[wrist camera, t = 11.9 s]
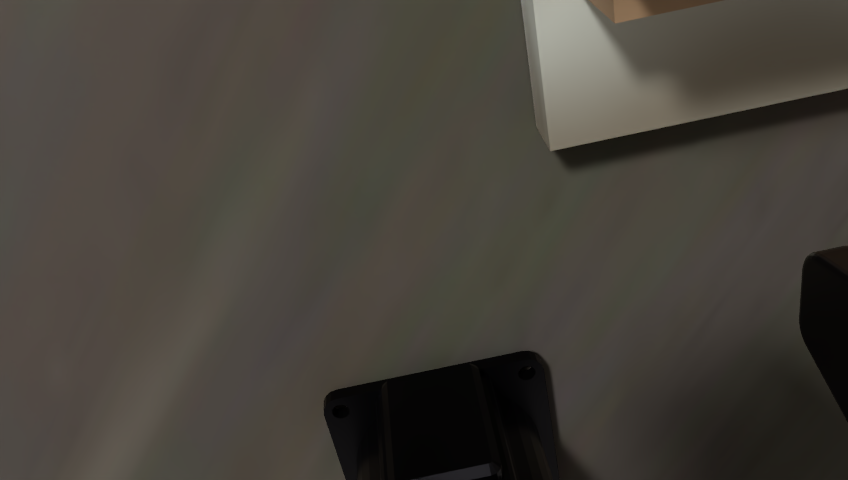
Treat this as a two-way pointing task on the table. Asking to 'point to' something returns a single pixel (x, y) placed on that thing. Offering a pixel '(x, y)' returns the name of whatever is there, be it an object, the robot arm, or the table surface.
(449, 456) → the robot arm
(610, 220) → the table surface
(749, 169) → the table surface
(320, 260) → the table surface
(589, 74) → the ridge stand
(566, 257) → the table surface
